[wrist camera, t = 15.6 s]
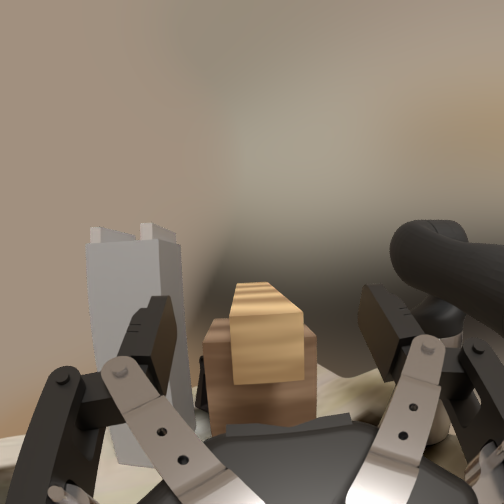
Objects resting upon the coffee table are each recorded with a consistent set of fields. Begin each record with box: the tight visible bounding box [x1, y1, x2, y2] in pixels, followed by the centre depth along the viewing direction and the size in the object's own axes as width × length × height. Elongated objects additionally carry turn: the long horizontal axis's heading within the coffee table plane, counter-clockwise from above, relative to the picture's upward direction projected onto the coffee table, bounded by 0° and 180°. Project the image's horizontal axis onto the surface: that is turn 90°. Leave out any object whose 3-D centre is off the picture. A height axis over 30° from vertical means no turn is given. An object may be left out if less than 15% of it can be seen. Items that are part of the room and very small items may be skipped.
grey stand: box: [86, 223, 196, 468], centre depth 43 cm, size 14×10×34 cm
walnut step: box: [202, 318, 317, 437], centre depth 33 cm, size 12×10×22 cm
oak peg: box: [229, 282, 304, 385], centre depth 30 cm, size 26×4×4 cm, turn 2°
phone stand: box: [195, 356, 209, 413], centre depth 58 cm, size 9×6×12 cm, turn 47°
